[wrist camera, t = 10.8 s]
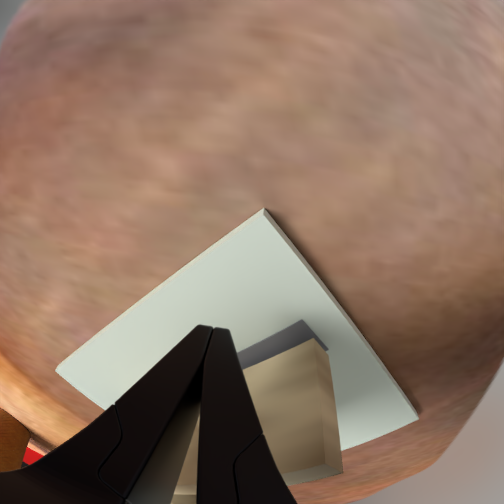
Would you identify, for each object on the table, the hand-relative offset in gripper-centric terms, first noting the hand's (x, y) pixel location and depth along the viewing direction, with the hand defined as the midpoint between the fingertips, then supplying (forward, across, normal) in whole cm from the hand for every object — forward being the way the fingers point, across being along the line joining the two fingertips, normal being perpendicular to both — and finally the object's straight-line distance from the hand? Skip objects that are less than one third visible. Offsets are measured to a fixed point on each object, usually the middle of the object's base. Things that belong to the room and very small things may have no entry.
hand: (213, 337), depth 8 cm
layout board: (+3, -1, +9) cm, 9 cm away
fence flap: (+2, +1, +6) cm, 7 cm away
